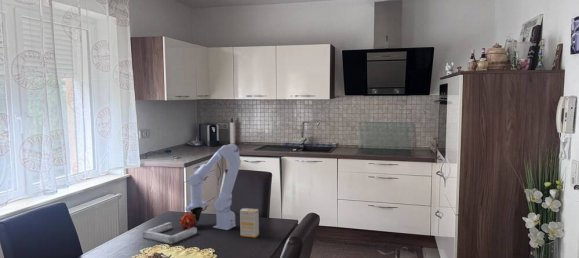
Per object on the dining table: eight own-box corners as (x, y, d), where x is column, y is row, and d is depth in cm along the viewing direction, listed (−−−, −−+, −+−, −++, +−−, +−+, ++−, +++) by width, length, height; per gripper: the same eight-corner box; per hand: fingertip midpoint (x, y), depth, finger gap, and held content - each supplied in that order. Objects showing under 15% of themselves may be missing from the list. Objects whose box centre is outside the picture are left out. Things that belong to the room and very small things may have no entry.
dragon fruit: (191, 226, 208) (188, 237, 197) (178, 218, 206) (174, 228, 195) (200, 214, 208) (198, 224, 196) (187, 206, 206) (183, 215, 194)
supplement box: (259, 234, 190) (259, 208, 189) (255, 238, 186) (255, 211, 185) (244, 233, 193) (243, 207, 192) (239, 236, 188) (239, 210, 188)
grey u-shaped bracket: (196, 233, 193) (196, 227, 193) (171, 244, 178) (171, 237, 178) (169, 227, 202) (168, 222, 202) (142, 237, 187) (142, 231, 187)
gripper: (199, 192, 214) (200, 216, 215) (180, 198, 201) (181, 223, 202) (209, 194, 211) (209, 218, 212) (191, 199, 198) (191, 225, 199)
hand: (196, 221), depth 207 cm, fingers closed
